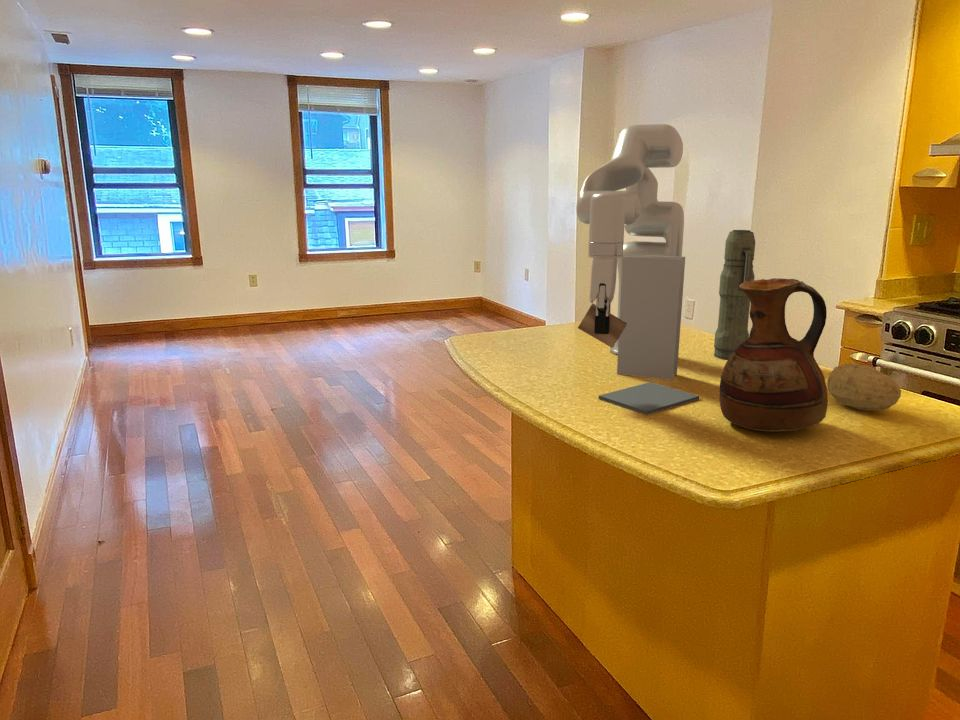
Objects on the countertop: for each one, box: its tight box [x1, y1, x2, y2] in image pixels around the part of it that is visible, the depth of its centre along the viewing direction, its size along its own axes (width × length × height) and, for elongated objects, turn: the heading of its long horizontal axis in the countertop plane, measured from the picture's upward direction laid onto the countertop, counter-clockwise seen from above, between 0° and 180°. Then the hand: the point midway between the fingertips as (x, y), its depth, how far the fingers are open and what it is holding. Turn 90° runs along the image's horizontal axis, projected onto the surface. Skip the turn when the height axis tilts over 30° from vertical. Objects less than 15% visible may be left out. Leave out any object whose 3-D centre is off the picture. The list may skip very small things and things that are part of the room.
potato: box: [826, 363, 902, 412], centre depth 149 cm, size 10×14×10 cm
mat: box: [598, 381, 700, 416], centre depth 157 cm, size 18×14×1 cm
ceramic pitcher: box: [718, 278, 829, 432], centre depth 137 cm, size 20×20×30 cm
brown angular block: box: [577, 303, 627, 348], centre depth 156 cm, size 3×9×6 cm, turn 75°
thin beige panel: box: [616, 254, 686, 381], centre depth 173 cm, size 14×6×30 cm, turn 65°
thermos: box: [713, 229, 756, 361], centre depth 190 cm, size 9×12×35 cm
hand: (602, 331), depth 156 cm, fingers closed on brown angular block, 2 cm apart
